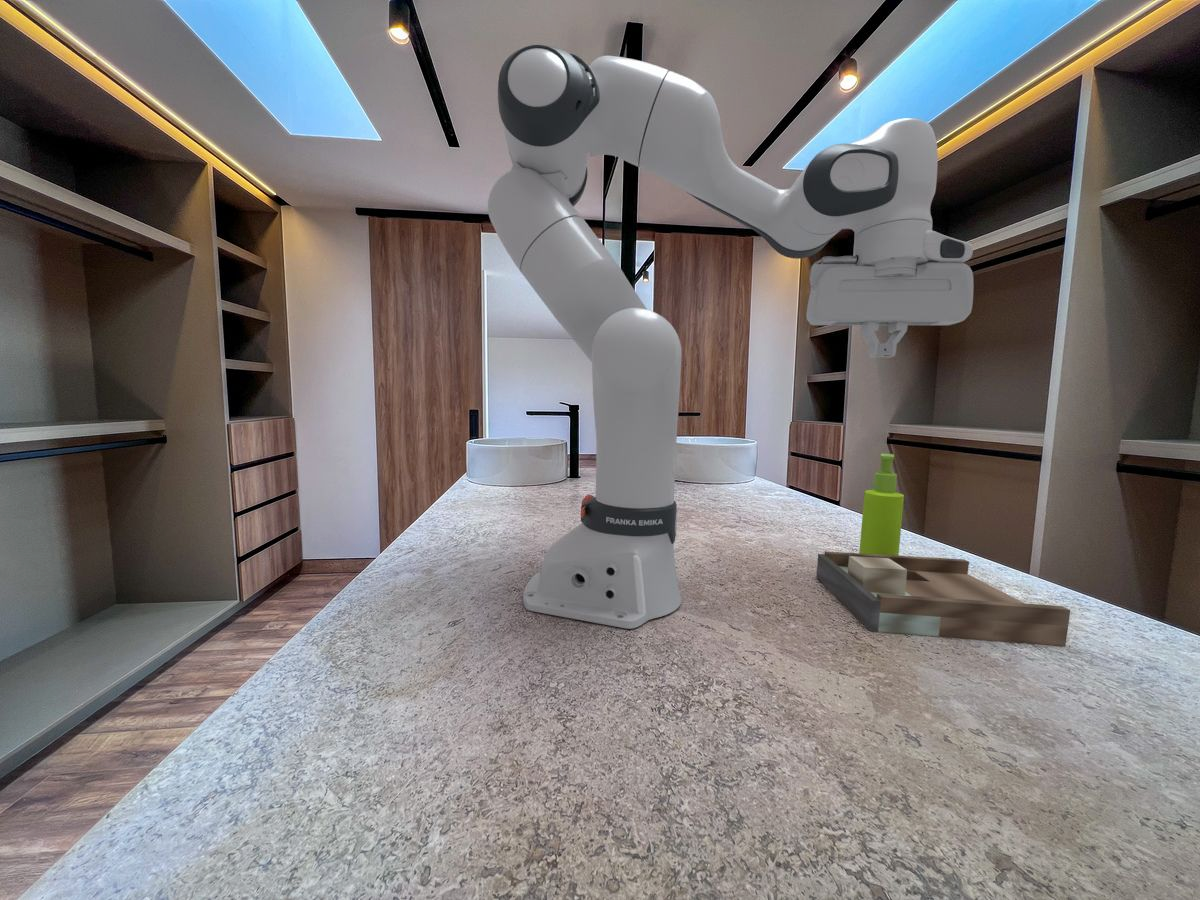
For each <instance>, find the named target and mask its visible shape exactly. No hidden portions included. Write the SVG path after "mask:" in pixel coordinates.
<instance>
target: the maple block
mask: <svg viewBox="0 0 1200 900" xmlns="http://www.w3.org/2000/svg"><path fill="white" fill-rule="evenodd" d="M848 574H849V575H850V576H851V577H852V578H854V579H855V580H856V581H857V582H859V583H860V584H861V585H862V586H863V587H865V588H866V589H867V590H868V591H869V592H875V593H890V594H905V587H906V577H907V569H905V568H903V567H902V566H900V565H899V564H897V563H895V562H894V561H892V560H891V559H889V558H875V557H858V556H849V563H848Z"/></svg>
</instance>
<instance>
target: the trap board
mask: <svg viewBox="0 0 1200 900" xmlns="http://www.w3.org/2000/svg"><path fill="white" fill-rule="evenodd" d="M849 556H858V557H875V558H889V559H891V560H892V561H894V562H895V563H897V564H899V565H900V566H902V567H903V568H905V569H907V577H906V587H905V594H890V593H875V592H869V591H868V590H867V589H866V588H865V587H863V586H862V585H861V584H860V583H859V582H857V581H856V580H855V579H854V578H852V577H851V576H850V575H849V574H848V563H849ZM816 565H817V566H816V577H817V578H818V579H819V580H820V581H821V582H820V581H819V580H818V579H817V578H816V577H815V578H816V579H817V580H818V581H819V582H820V583H821V584H822V585H823V586H824V587H825V588H826V589H827V590H828V591H829V592H830V593H831V594H832V595H833V596H834V597H835V598H836V599H837V600H838V601H839V602H840V603H841V604H842V605H843V606H844V607H845V608H846V609H847V610H848V611H849V612H850V613H851V614H852V615H853V616H854V617H855V618H856V619H857V620H858V621H859V622H860V623H861V624H862V625H863V626H864V627H865V629H867V630H868V631H869V632H876V633H889V634H902V635H904V634H905V635H915V636H929V637H941V638H942V637H945V638H954V639H955V638H956V639H969V640H981V641H983V640H984V641H992V642H993V641H995V642H1006V643H1008V642H1009V643H1020V644H1021V643H1022V644H1034V645H1035V644H1036V645H1046V646H1047V645H1048V646H1062V647H1066V645H1067V638H1068V630H1069V624H1070V618H1071V617H1070V615H1071V609H1070V608H1067V607H1066V606H1063V605H1054V604H1053V605H1052V604H1051V605H1050V604H1036V603H1034V604H1033V603H1025V602H1023V601H1021V600H1018V599H1017V598H1014V597H1013V596H1011V595H1009V594H1007V593H1005V592H1003V591H1002V590H1000V589H997V588H996V587H993V586H992V585H990V584H988V583H986V582H984V581H981V580H980V579H978V578H976V577H974V576H972V575H971V574H969V566H970V561H969V560H966V559H964V558H963V559H961V558H948V557H947V558H946V557H932V556H927V557H926V556H913V555H912V556H911V555H898V556H896V555H879V554H862V553H859V552H842V551H841V552H840V551H824V553H823V554H821V553H818V554H817V564H816Z"/></svg>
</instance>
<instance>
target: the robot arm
mask: <svg viewBox="0 0 1200 900" xmlns="http://www.w3.org/2000/svg"><path fill="white" fill-rule="evenodd" d="M497 105H498V111H499V116H500V119H501V121H502V124H503V130H504V135H505V140H506V144H507V149H508V153H509V156H510V160H511V164H512V167H511V169H510V170H509V171H507V172H505V173H504V174H503V175H501V176H500V177H499V178H498V179H497V180H496V182H495V183H494V184H493V186H492V188H491V190H490V193H489V195H488V200H487V212H488V217H489V220H490V223H491V225H492V226H493V229H494V231H495V233H496V234H497V236H498V238H499V240H500V242H501V244H502V246H503V247H504V249H505V251H506V252H507V254H508V255H509V257H510V258H511V260H512V261H513V263H514V265H515V266H516V268H517V269H518V270H519V272H520V273H521V275H522V276H524V277H523V278H525V280H526V281H527V282H528V284H529V285H530V287H531V288H532V289H533V291H534V292H535V293H536V294H537V295H538V297H539V298H540V299H541V302H543V303H544V305H545V306H546V307H547V309H548V310H549V312H551V314H552V315H553V317H554V318H555V320H556V321H557V322H558V323H559V324H560V326H561V328H563V329H564V330H565V331H566V333H567V334H568V335H569V336H570V338H571V339H572V340H573V341H574V342H575V343H576V345H577V346H578V347H579V349H581V351H582V352H583V353H584V354H585V356H586V357H587V359H588V360H589V361H590V363H591V367H592V368H591V369H592V370H591V372H592V373H591V375H592V376H591V377H592V398H593V399H592V400H593V401H592V402H593V413H594V414H593V415H594V427H595V429H594V430H595V438H596V439H595V441H596V449H595V450H596V456H595V457H596V461H595V462H596V463H595V495H593V494H587V495H585V496H584V497H583V499H582V500H581V505H580V524H578V525H577V526H576V527H574V528H573V529H571V530H570V531H568V532H567V533H566V534H565V535H563V536H562V537H560V538H559V539H557V540H556V541H555V542H554V543H552V545H550V546H549V548H548V549H547V551H546V553H545V555H544V557H543V560H542V563H541V568H540V571H539V572H536V573H535V574H534V575H533V576H532V577H531V578H530V579H529V581H528V582H527V583H526V586H525V588H524V590H523V595H522V596H523V597H522V603H523V606H524V608H525V609H526V610H527V611H529V612H536V613H541V614H545V615H550V616H551V615H552V616H556V617H563V618H567V619H572V620H573V619H574V620H577V621H579V620H580V621H584V622H590V623H594V624H600V625H606V626H611V627H618V628H622V629H630V630H631V629H635V628H639V627H640V626H642V625H644V624H645V623H647V622H648V621H650V620H653V619H657V618H660V617H663V616H664V617H665V616H667V615H669V614H672V613H674V611H676V610H678V608H679V607H680V606H681V604H682V601H683V599H682V594H681V591H680V587H679V582H678V577H677V569H676V568H677V567H676V559H675V558H676V557H675V549H674V547H675V544H674V543H675V541H676V537H677V530H678V509H677V508H678V507H677V506H678V505H677V502H676V501H675V481H676V480H675V479H676V478H675V477H676V461H677V460H676V458H677V457H676V454H677V453H676V452H677V441H678V440H677V438H678V422H679V421H678V420H679V407H680V393H681V392H680V389H681V377H682V376H681V372H682V356H683V355H682V345H681V341H680V338H679V334H678V333H677V331H676V329H675V327H673V325H672V324H671V323H670V321H668V320H667V319H666V318H665V317H664V316H662V315H660V314H659V313H657V312H656V311H653V310H650V309H648V308H647V307H646V305H645V304H644V303H643V300H642V299H641V298H640V296H639V295H638V293H637V292H636V290H635V289H634V288H633V286H632V284H631V283H630V281H629V279H628V278H627V277H626V275H625V272H624V271H623V270H622V268H621V266H620V265H619V264H618V263H617V261H616V260H615V259H614V257H613V256H612V255H611V253H610V252H609V251H608V249H607V248H606V247H605V245H604V244H603V243H602V241H601V240H600V239H599V238H598V236H597V235H596V233H594V231H593V230H592V228H591V227H590V226H589V224H588V223H587V222H586V220H585V219H584V218H583V217H582V216H581V214H580V213H579V211H578V210H577V209H576V208H575V206H576V205H577V204H578V202H579V201H580V199H581V198H582V196H583V193H584V191H585V189H586V185H587V180H588V165H587V164H588V153H589V155H590V157H594V156H601V155H604V156H606V155H607V156H613V157H616V158H619V159H621V160H623V161H625V162H627V163H628V164H631V165H633V166H635V167H637V168H640V169H642V170H645V171H647V172H649V173H652V174H654V175H656V176H659V177H660V178H663V179H664V180H666V181H667V182H670V183H671V184H673V185H675V186H677V187H679V188H680V189H682V190H683V191H684V192H686V193H687V194H688V195H690V196H692V197H693V198H695V200H697V201H699V202H701V203H702V204H704V205H706V206H707V207H710V208H711V209H713V210H715V211H717V212H719V213H721V214H722V215H725V216H727V217H728V218H730V219H732V220H733V221H736V222H738V223H740V225H742V226H743V225H744V226H746V227H747V228H749V229H751V230H753V231H754V232H755V233H757V234H758V235H760V237H762V238H763V239H764V240H765V241H766V242H767V244H769V246H770V247H771V248H773V250H774V251H776V252H777V253H778V254H779V255H781V256H783V257H786V258H790V259H803V258H804V259H805V258H810V257H812V256H813V255H815V254H817V253H819V252H820V251H821V250H822V249H823V248H824V247H825V246H826V245H827V244H828V243H829V242H830V240H831V239H833V238H834V237H835V235H837V234H839V232H840V231H842V230H852V231H853V232H854V244H853V255H843V256H841V255H840V256H832V255H831V256H830V255H828V256H823V257H822V258H821V259H819V260H816V261H815V262H814V263H813V264H812V266H811V267H810V270H809V280H808V281H809V285H810V289H811V290H810V293H809V297H808V302H807V308H806V315H805V317H806V320H807V322H808V323H809V324H810V325H811V326H861V327H860V335H861V336H862V338H863V340H864V342H865V343H866V345H867V354H866V355H867V357H868V358H895V356H896V354H897V345H898V344H899V342H900V341H901V340H902V338H903V337H904V335H905V334H906V333H907V331H908V326H952V325H955V324H958V323H961V322H964V321H965V320H967V318H968V316H970V314H971V313H972V310H973V303H974V301H973V300H974V284H975V283H974V274H973V270H972V269H971V267H970V266H969V265H968V264H966V263H965V262H967V261H969V260H970V259H972V256H973V253H974V246H973V244H971V243H970V242H967V241H963V240H960V239H957V238H954V237H950V236H948V235H944V234H942V233H940V232H937V231H935V230H933V217H932V215H931V213H932V212H931V205H932V202H933V199H934V196H935V195H936V190H937V181H938V177H937V176H938V168H939V167H938V162H939V161H938V157H939V155H938V142H937V138H936V135H935V131H934V129H933V127H932V125H930V123H928V122H927V121H925V120H923V119H919V118H914V117H913V118H912V117H904V118H898V119H895V120H894V119H893V120H891V121H887V122H886V123H883V124H882V125H880V126H878V127H877V128H876V129H875V130H874V131H873V132H871V133H869V134H868V135H867V136H865V137H863V138H861V139H859V140H857V141H853V142H849V143H837V144H834V145H831V146H828V147H826V148H824V149H822V150H820V151H819V153H817V154H816V155H815V156H814V157H813V158H812V159H811V160H810V161H809V163H807V165H806V166H805V168H804V169H802V170H803V171H802V172H801V173H799V176H797V178H796V180H795V181H794V183H793V184H792V185H791V187H790V188H785V189H780V188H777V187H774V186H773V185H771V184H769V183H767V182H765V181H764V180H762V179H760V178H758V177H756V176H755V175H753V174H751V173H749V172H747V171H745V170H744V169H742V168H740V167H738V165H736V164H735V163H734V162H733V160H732V159H731V158H730V156H729V154H728V152H727V149H726V146H725V143H724V140H723V139H724V138H723V132H722V125H721V124H722V121H721V116H720V114H719V110H718V107H717V104H716V102H715V100H714V98H713V95H712V94H711V93H710V92H709V91H708V90H707V89H705V87H703V86H702V85H700V84H699V83H698V82H696V81H695V80H693V79H691V78H689V77H687V76H685V75H682V74H680V73H677V72H676V71H672V70H670V69H668V68H664V67H662V66H659V65H656V64H653V63H650V62H646V61H642V60H638V59H634V58H628V57H623V56H615V55H602V56H599V57H597V58H596V59H595V60H593V61H592V62H591V63H590V64H589V65H588V64H587V62H586V61H584V60H583V59H582V58H581V57H579V56H578V55H577V54H575V53H569V52H567V51H565V50H563V49H560V48H557V47H555V46H549V45H544V44H532V45H528V46H524V47H522V48H520V49H518V50H516V51H514V52H513V53H512V54H510V55H509V56H508V57H507V58H506V60H505V61H504V62H503V64H502V66H501V67H500V71H499V75H498V82H497ZM880 326H888V327H887V332H888V334H891V335H890V337H889V338H888V340H887V341H886V342H884V343H883V342H880V341H879V338H878V336H877V334H876V332H877V331H879V329H880Z"/></svg>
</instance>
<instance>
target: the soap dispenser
mask: <svg viewBox="0 0 1200 900" xmlns="http://www.w3.org/2000/svg"><path fill="white" fill-rule="evenodd" d="M879 455H880V459H881V461H880V470H878V471H876V472H874V473H873V485H872V489H867V490H864V492H863V493H864V494H863V495H864V496H863V497H864V498H863V503H862V504H863V506H862V515H861V529H860V530H861V531H860V539H859V540H860V542H859V552H858V553H862V554H879V555H896V556H900V555H899V554H900V553H899V552H900V544H901V535H902V534H901V533H902V532H901V531H902V523H903V521H902V520H903V512H904V502H905V501H904V500H905V495H904V494H903V493H900V492H897V485H898V483H897V481H898V474H897V473H895V472H894V471H893V464H894V463H893V462H894V460H895V454H893V453H880V454H879Z"/></svg>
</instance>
